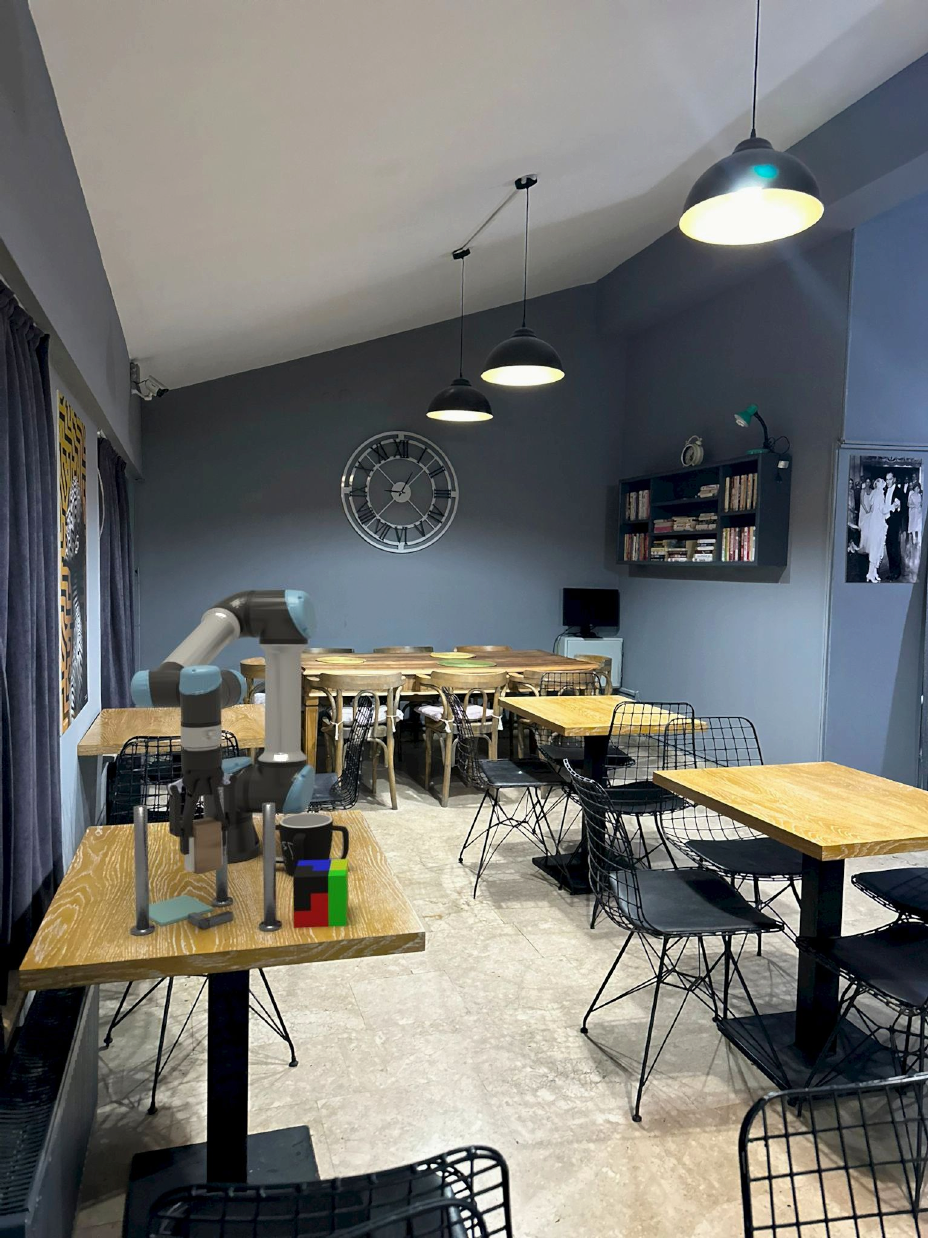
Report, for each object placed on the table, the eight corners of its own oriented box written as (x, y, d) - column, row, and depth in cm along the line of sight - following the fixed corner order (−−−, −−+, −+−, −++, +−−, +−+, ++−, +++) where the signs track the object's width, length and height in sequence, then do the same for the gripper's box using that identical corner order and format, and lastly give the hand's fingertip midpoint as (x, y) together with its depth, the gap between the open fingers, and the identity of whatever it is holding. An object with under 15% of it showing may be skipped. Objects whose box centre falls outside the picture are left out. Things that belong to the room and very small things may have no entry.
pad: (136, 911, 176) (135, 908, 176) (186, 897, 184) (186, 894, 183) (161, 926, 168) (161, 923, 168) (212, 911, 176) (212, 908, 176)
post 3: (254, 927, 167) (252, 804, 166) (273, 920, 171) (272, 800, 170) (266, 933, 164) (265, 808, 163) (286, 927, 167) (284, 804, 166)
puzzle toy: (299, 909, 177) (298, 860, 177) (348, 907, 178) (348, 859, 177) (293, 928, 167) (293, 877, 167) (345, 926, 168) (345, 875, 167)
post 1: (126, 931, 166) (124, 807, 165) (148, 924, 169) (146, 802, 168) (136, 937, 163) (134, 811, 162) (159, 930, 166) (156, 806, 165)
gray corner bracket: (188, 921, 170) (187, 914, 170) (217, 912, 175) (217, 905, 175) (202, 929, 166) (202, 922, 166) (232, 920, 171) (232, 912, 171)
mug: (259, 868, 202) (258, 817, 201) (321, 855, 211) (321, 806, 211) (289, 888, 189) (289, 834, 188) (354, 873, 198) (354, 821, 198)
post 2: (207, 903, 180) (205, 788, 179) (226, 897, 183) (224, 785, 182) (218, 908, 177) (216, 792, 176) (237, 903, 180) (235, 788, 179)
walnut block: (185, 868, 167) (185, 822, 167) (210, 862, 170) (209, 817, 170) (197, 874, 163) (196, 827, 163) (222, 868, 167) (221, 822, 166)
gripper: (163, 756, 157) (166, 883, 158) (253, 743, 169) (255, 861, 170) (147, 750, 163) (149, 872, 164) (235, 738, 175) (237, 852, 176)
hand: (203, 866), depth 167 cm, fingers closed on walnut block, 5 cm apart
